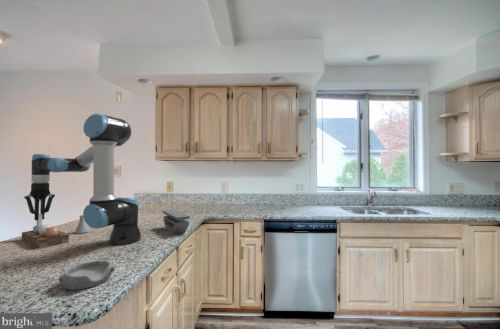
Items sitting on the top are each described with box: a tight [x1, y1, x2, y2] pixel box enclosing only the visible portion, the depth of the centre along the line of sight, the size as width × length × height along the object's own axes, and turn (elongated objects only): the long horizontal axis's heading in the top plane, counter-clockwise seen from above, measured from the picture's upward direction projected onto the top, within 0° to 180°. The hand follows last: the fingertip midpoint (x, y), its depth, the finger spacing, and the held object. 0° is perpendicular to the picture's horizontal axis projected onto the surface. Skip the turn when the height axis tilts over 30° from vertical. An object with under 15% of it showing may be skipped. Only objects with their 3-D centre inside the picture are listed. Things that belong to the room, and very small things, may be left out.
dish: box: [58, 260, 116, 291], centre depth 84 cm, size 14×14×5 cm
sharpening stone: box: [162, 209, 191, 235], centre depth 152 cm, size 25×8×11 cm, turn 37°
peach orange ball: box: [45, 226, 59, 238], centre depth 123 cm, size 5×5×5 cm
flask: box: [74, 214, 91, 234], centre depth 145 cm, size 7×7×10 cm
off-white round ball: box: [39, 224, 53, 236], centre depth 128 cm, size 5×5×5 cm
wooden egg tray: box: [21, 230, 70, 249], centre depth 127 cm, size 24×12×4 cm, turn 58°
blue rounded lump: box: [32, 225, 39, 233], centre depth 132 cm, size 5×5×5 cm
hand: (39, 225), depth 132 cm, fingers closed
